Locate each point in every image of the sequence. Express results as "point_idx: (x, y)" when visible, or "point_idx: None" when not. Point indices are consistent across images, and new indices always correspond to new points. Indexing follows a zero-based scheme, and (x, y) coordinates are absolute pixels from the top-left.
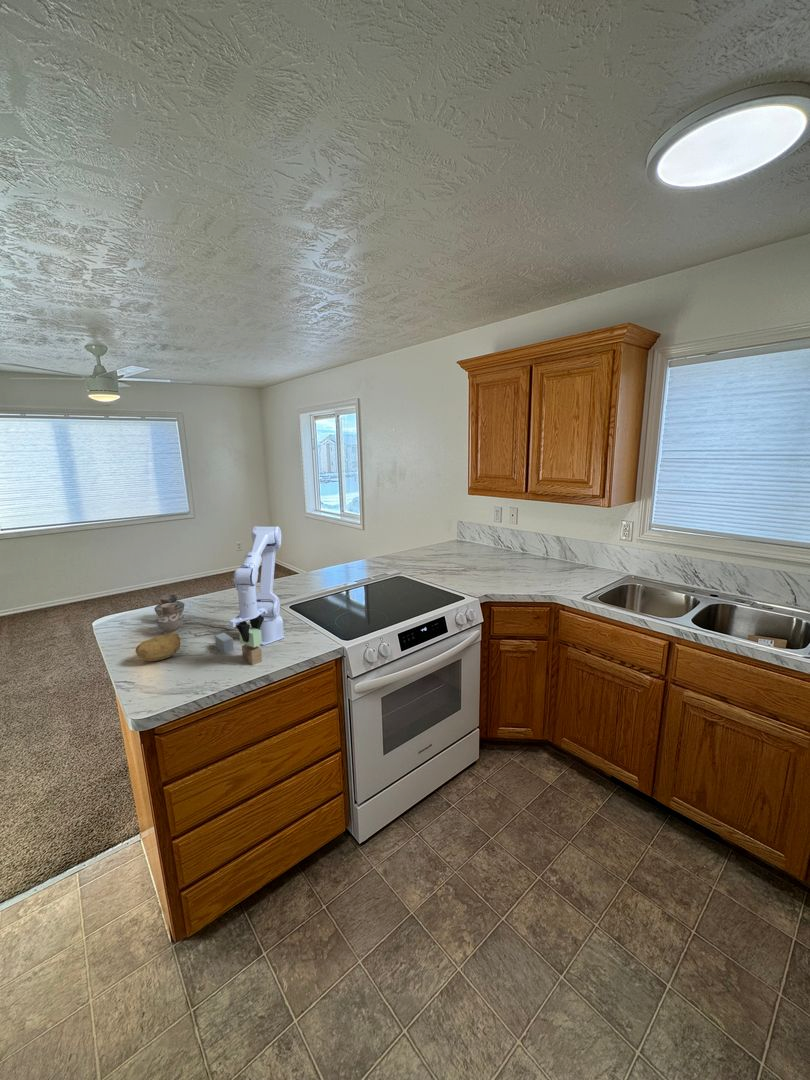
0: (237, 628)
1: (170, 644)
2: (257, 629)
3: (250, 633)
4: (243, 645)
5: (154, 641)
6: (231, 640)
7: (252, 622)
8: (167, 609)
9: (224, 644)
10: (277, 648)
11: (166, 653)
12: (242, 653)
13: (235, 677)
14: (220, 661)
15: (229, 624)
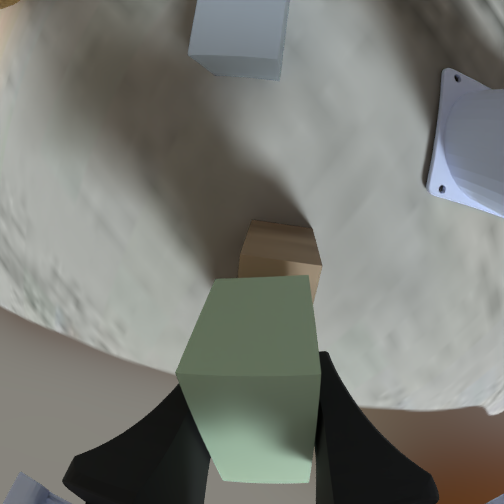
0: (117, 439)
1: None
2: (303, 469)
3: (218, 466)
4: (250, 262)
5: None
6: (265, 62)
7: (324, 483)
8: None
9: (203, 62)
10: (432, 278)
11: (4, 5)
12: (248, 231)
13: (139, 333)
14: (150, 148)
15: (14, 485)
